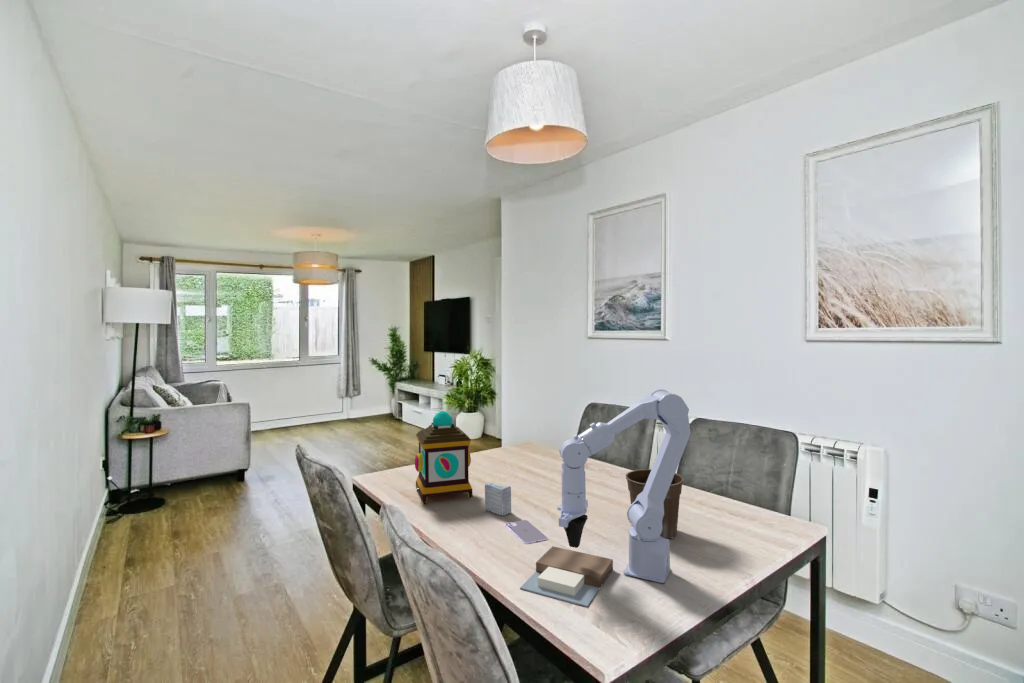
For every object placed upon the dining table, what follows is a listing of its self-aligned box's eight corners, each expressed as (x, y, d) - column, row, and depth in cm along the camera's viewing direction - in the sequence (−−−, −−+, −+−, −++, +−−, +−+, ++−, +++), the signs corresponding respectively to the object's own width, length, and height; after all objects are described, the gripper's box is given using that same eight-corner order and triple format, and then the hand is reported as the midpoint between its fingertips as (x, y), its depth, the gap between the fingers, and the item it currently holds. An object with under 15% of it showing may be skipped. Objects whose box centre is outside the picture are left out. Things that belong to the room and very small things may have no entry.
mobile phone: (524, 542, 136) (503, 522, 149) (524, 545, 136) (503, 525, 150) (549, 537, 139) (526, 518, 152) (549, 541, 139) (526, 521, 152)
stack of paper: (511, 512, 159) (511, 486, 159) (502, 516, 156) (501, 489, 156) (494, 507, 164) (494, 481, 164) (484, 510, 161) (484, 484, 161)
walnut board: (612, 569, 121) (612, 559, 121) (599, 588, 112) (599, 577, 112) (552, 555, 129) (552, 546, 129) (536, 572, 120) (536, 562, 120)
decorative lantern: (464, 483, 190) (463, 405, 189) (477, 499, 171) (476, 413, 171) (411, 488, 184) (410, 408, 183) (419, 506, 165) (418, 417, 164)
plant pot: (614, 526, 148) (614, 472, 148) (657, 517, 154) (657, 466, 154) (649, 548, 133) (649, 488, 133) (696, 537, 139) (696, 480, 139)
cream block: (584, 583, 114) (584, 575, 114) (574, 596, 109) (574, 587, 109) (548, 574, 118) (548, 566, 118) (537, 586, 113) (537, 577, 113)
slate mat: (599, 589, 112) (599, 587, 112) (587, 607, 105) (587, 605, 105) (535, 573, 120) (535, 571, 120) (520, 588, 113) (520, 587, 113)
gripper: (568, 479, 128) (569, 532, 128) (546, 497, 115) (547, 555, 115) (595, 483, 125) (595, 536, 125) (574, 501, 112) (575, 561, 112)
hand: (574, 546), depth 120 cm, fingers closed
